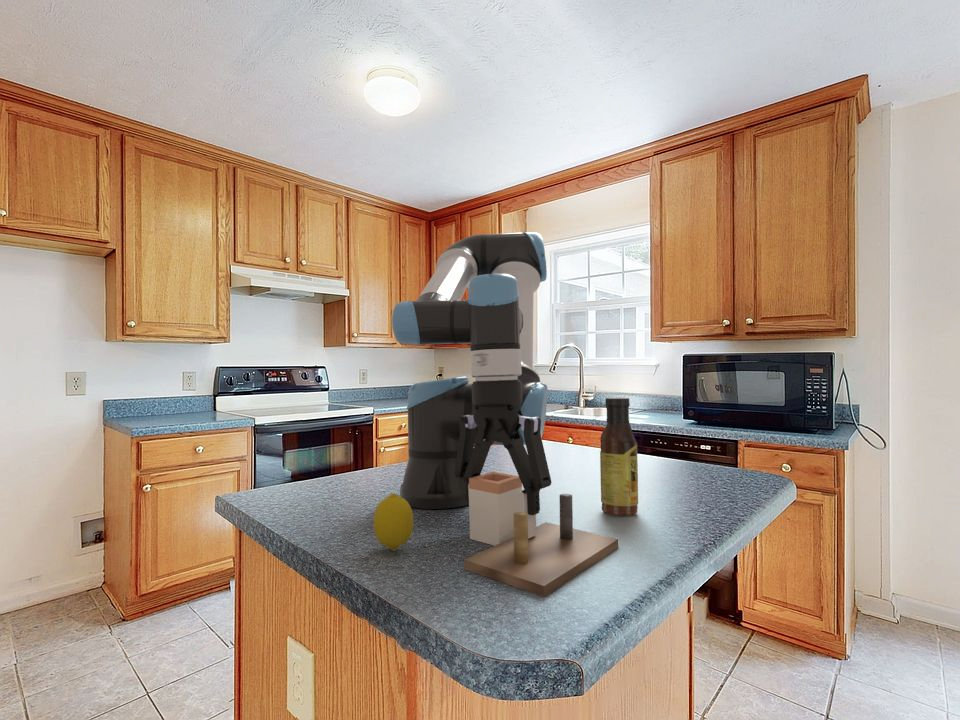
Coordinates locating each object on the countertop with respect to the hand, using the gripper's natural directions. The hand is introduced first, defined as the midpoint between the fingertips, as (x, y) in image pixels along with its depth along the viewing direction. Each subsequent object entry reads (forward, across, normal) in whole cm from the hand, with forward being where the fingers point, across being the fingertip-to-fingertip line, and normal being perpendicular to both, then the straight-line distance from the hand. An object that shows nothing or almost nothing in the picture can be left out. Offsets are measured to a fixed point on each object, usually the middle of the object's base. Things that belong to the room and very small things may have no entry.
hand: (502, 530), depth 75 cm
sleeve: (+1, -1, 0) cm, 2 cm away
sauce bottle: (+2, +8, +23) cm, 24 cm away
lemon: (+1, -9, -13) cm, 16 cm away
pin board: (+2, +9, -2) cm, 9 cm away
